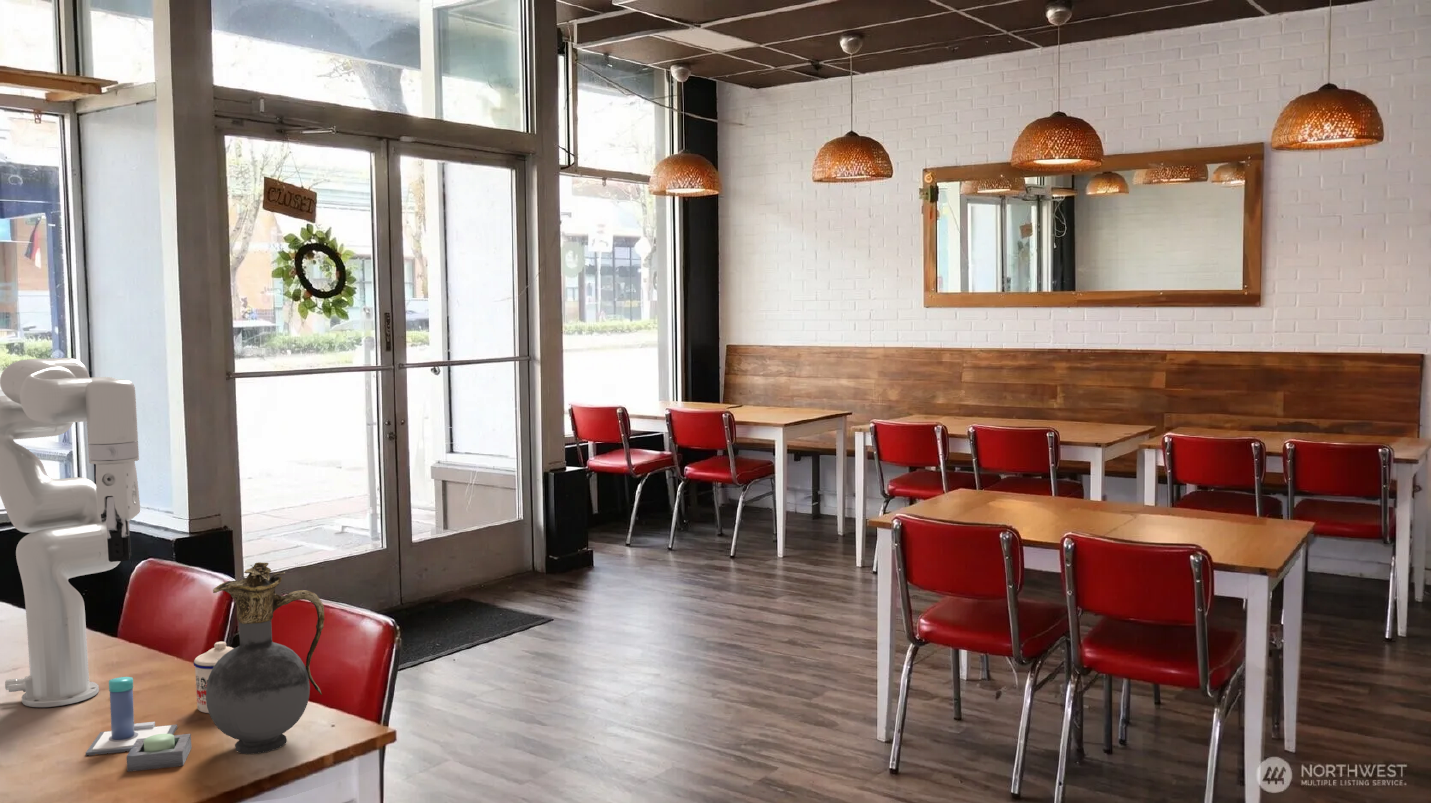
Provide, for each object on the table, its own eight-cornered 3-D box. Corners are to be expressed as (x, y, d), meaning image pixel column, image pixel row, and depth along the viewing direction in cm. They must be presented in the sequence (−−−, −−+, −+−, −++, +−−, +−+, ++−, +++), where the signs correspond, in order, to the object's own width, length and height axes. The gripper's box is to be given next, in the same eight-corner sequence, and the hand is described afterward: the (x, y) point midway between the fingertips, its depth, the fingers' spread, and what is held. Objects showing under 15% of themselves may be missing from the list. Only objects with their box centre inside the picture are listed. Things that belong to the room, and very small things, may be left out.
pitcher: (201, 748, 195) (192, 566, 193) (318, 722, 207) (311, 550, 204) (219, 767, 187) (209, 577, 184) (340, 739, 198) (332, 560, 196)
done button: (142, 763, 188) (141, 744, 188) (147, 753, 192) (146, 735, 192) (172, 760, 189) (171, 741, 189) (177, 750, 193) (176, 732, 193)
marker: (114, 733, 200) (112, 677, 200) (137, 731, 201) (135, 676, 201) (108, 740, 197) (106, 684, 196) (132, 739, 198) (129, 682, 197)
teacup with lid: (185, 708, 215) (182, 644, 214) (232, 694, 223) (229, 633, 222) (222, 721, 208) (219, 655, 207) (269, 706, 215) (266, 643, 214)
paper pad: (85, 755, 193) (85, 748, 193) (100, 734, 203) (100, 727, 202) (166, 747, 196) (166, 739, 196) (177, 726, 206) (177, 719, 205)
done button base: (127, 771, 186) (126, 756, 185) (138, 753, 193) (137, 739, 193) (183, 765, 188) (182, 750, 187) (191, 748, 195) (190, 733, 195)
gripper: (128, 456, 196) (134, 567, 197) (147, 447, 210) (152, 550, 212) (78, 459, 194) (84, 571, 195) (100, 449, 208) (106, 553, 210)
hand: (120, 560), depth 204 cm, fingers closed
